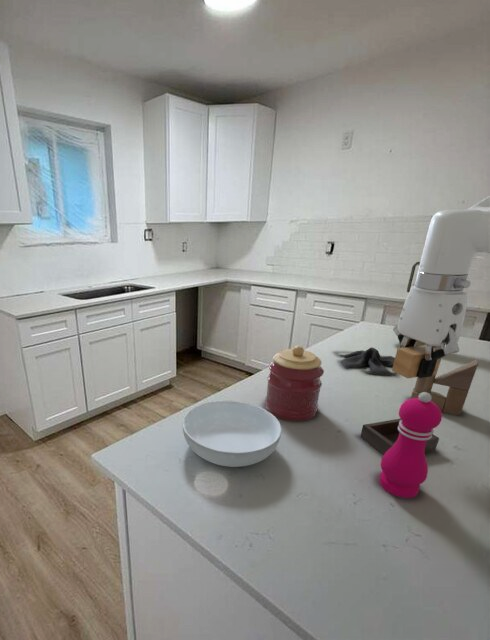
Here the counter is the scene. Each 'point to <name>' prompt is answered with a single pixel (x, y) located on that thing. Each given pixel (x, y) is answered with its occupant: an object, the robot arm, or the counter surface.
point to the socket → (389, 436)
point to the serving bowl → (231, 432)
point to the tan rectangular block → (410, 361)
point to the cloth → (369, 361)
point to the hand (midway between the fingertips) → (414, 371)
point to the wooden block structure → (457, 383)
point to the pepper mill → (410, 447)
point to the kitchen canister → (294, 384)
